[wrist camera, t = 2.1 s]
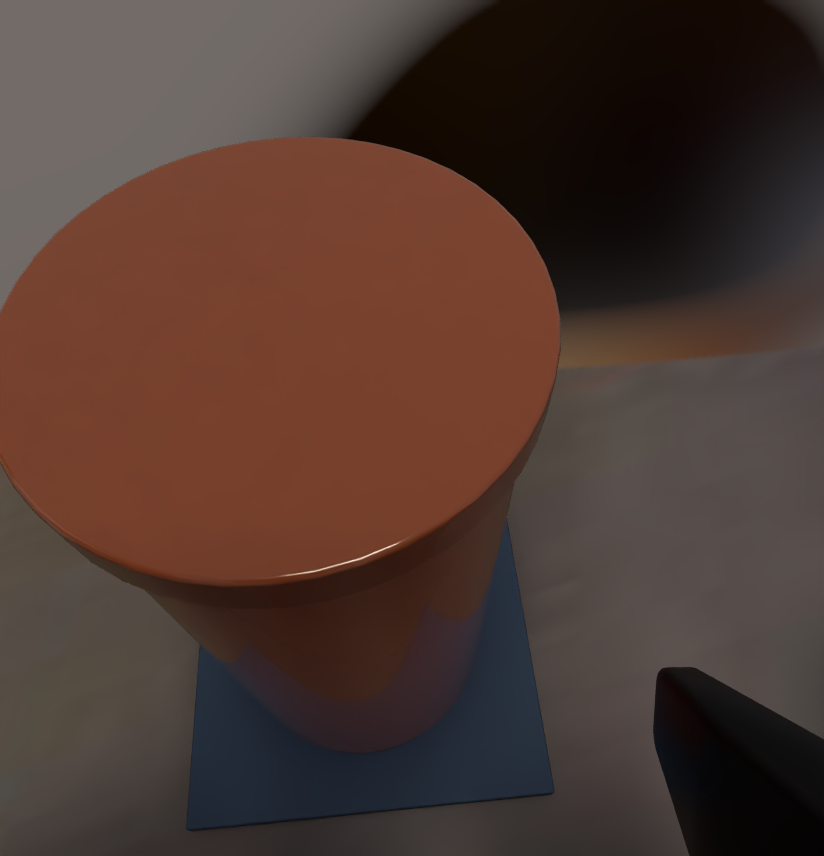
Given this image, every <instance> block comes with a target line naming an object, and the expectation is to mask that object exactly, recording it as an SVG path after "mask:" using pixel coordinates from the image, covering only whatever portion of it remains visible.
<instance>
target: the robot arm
mask: <svg viewBox="0 0 824 856" xmlns="http://www.w3.org/2000/svg"><path fill="white" fill-rule="evenodd" d="M653 734H654V743H655V747H656V751H657V755H658V758H659V761H660V764H661V767H662V770H663V773H664V777H665V780H666V783H667V786H668V789H669V792H670V796H671V799H672V802H673V805H674V808H675V811H676V815H677V818H678V821H679V824H680V827H681V830H682V834H683V837H684V840H685V843H686V846H687V849H688V852H689V856H824V739H822V738H820V737H818V736H817V735H815V734H813V733H811V732H809V731H808V730H806V729H804V728H802V727H801V726H799V725H797V724H795V723H793V722H792V721H790V720H788V719H786V718H784V717H783V716H781V715H779V714H777V713H775V712H774V711H772V710H770V709H768V708H766V707H765V706H763V705H761V704H759V703H757V702H756V701H754V700H752V699H750V698H749V697H747V696H745V695H743V694H741V693H740V692H738V691H736V690H734V689H732V688H731V687H729V686H727V685H725V684H723V683H722V682H720V681H718V680H716V679H714V678H713V677H711V676H709V675H707V674H705V673H704V672H702V671H700V670H698V669H696V668H693V667H667V668H662V669H661V670H660V671H659V673H658V676H657V680H656V694H655V709H654V725H653Z"/></svg>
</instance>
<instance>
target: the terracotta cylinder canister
mask: <svg viewBox="0 0 824 856" xmlns="http://www.w3.org/2000/svg"><path fill="white" fill-rule="evenodd" d="M559 356H560V316H559V310H558V305H557V299H556V294H555V291H554V288H553V285H552V282H551V279H550V277H549V274H548V271H547V268H546V265H545V264H544V262H543V260H542V258H541V256H540V254H539V253H538V251H537V249H536V247H535V245H534V244H533V242H532V240H531V239H530V237H529V236H528V235H527V233H526V232H525V231H524V230H523V229H522V227H521V226H520V224H519V223H518V222H517V221H516V219H515V218H514V217H513V216H512V215H511V214H510V213H509V212H508V211H507V210H506V209H504V207H503V206H501V204H500V203H499V202H497V200H495V199H494V198H493V197H491V196H490V195H489V194H487V193H486V192H485V191H483V190H482V189H481V188H479V187H478V186H477V185H476V184H474V183H472V182H471V181H469V180H467V179H466V178H464V177H462V176H461V175H459V174H457V173H455V172H454V171H452V170H450V169H448V168H446V167H443V166H441V165H439V164H437V163H435V162H432V161H430V160H428V159H426V158H423V157H420V156H417V155H414V154H411V153H408V152H405V151H402V150H399V149H395V148H391V147H386V146H382V145H378V144H374V143H368V142H361V141H355V140H347V139H339V138H319V137H295V138H294V137H293V138H274V139H266V140H257V141H248V142H243V143H238V144H233V145H228V146H223V147H218V148H215V149H211V150H208V151H204V152H200V153H197V154H193V155H189V156H187V157H184V158H181V159H179V160H176V161H173V162H171V163H168V164H165V165H163V166H160V167H158V168H155V169H153V170H151V171H149V172H147V173H145V174H143V175H140V176H138V177H136V178H134V179H132V180H130V181H128V182H127V183H125V184H123V185H122V186H120V187H118V188H116V189H115V190H113V191H111V192H109V193H108V194H106V195H104V196H103V197H101V198H100V199H99V200H97V201H96V202H95V203H93V204H91V205H90V206H89V207H87V208H86V209H85V210H83V211H82V212H80V213H79V214H78V215H77V216H75V217H74V218H73V219H72V220H71V221H70V222H69V223H67V224H66V225H65V226H64V227H63V228H62V229H60V230H59V231H58V232H57V233H56V234H55V235H54V236H53V237H52V238H51V239H50V240H49V241H48V242H47V243H46V244H45V246H44V247H43V248H42V249H41V250H40V251H39V252H38V253H37V254H36V255H35V257H34V258H33V259H32V260H31V262H30V263H29V265H28V266H27V267H26V269H25V270H24V271H23V273H22V274H21V275H20V277H19V278H18V279H17V281H16V282H15V284H14V286H13V288H12V290H11V292H10V293H9V295H8V297H7V299H6V300H5V302H4V304H3V306H2V308H1V310H0V464H1V465H2V467H3V469H4V471H5V473H6V474H7V476H8V478H9V480H10V482H11V483H12V485H13V487H14V488H15V489H16V491H17V492H18V493H19V494H20V495H21V497H22V498H23V499H24V500H25V501H26V503H27V504H28V505H29V506H30V507H31V509H32V510H33V511H34V512H35V513H36V514H37V515H38V516H39V517H40V518H41V519H42V520H43V521H44V522H45V523H47V524H48V525H49V526H50V527H51V528H52V529H53V530H54V531H55V532H57V533H58V534H59V535H60V536H61V537H62V538H63V539H64V540H66V541H67V542H68V543H69V544H70V545H71V546H73V547H74V548H75V549H76V550H77V551H79V552H80V553H81V554H82V555H83V556H84V557H86V558H87V559H88V560H89V561H90V562H92V563H94V564H95V565H97V566H99V567H100V568H102V569H104V570H105V571H107V572H109V573H110V574H112V575H114V576H115V577H117V578H119V579H120V580H122V581H124V582H127V583H129V584H132V585H134V586H137V587H139V588H142V589H144V590H145V591H146V592H147V593H148V594H149V595H150V596H151V597H152V598H153V599H154V600H155V601H156V602H157V603H158V604H159V605H160V606H161V607H162V608H163V609H164V610H165V611H166V612H167V613H168V614H169V615H171V616H172V617H173V618H174V619H175V620H176V621H177V622H178V623H179V624H180V625H181V626H182V627H183V628H184V629H185V630H186V631H187V632H188V633H189V634H190V635H191V636H192V637H193V638H194V639H195V640H196V641H197V642H198V643H199V644H200V645H201V646H202V647H203V648H204V649H205V650H206V651H207V652H208V653H209V654H210V655H211V656H212V657H213V658H214V659H215V660H217V661H218V662H219V663H220V664H221V665H222V666H223V667H224V668H225V669H226V670H227V671H228V672H229V673H230V674H231V675H232V676H233V677H234V678H235V679H236V680H237V681H238V682H239V683H240V684H241V685H242V686H243V687H244V688H245V689H246V690H247V691H248V692H249V693H250V694H251V695H252V696H253V697H254V698H255V699H256V700H257V701H258V702H259V703H260V704H261V705H263V706H264V707H265V708H266V709H267V710H268V711H269V712H270V713H271V714H272V715H273V716H274V717H275V718H276V719H277V720H278V721H279V722H280V723H281V724H282V725H284V726H285V727H286V728H287V729H288V730H289V731H291V732H292V733H294V734H295V735H297V736H298V737H300V738H302V739H303V740H305V741H307V742H310V743H312V744H314V745H316V746H319V747H322V748H326V749H329V750H333V751H338V752H347V753H369V752H375V751H381V750H386V749H389V748H392V747H395V746H399V745H401V744H404V743H406V742H408V741H410V740H412V739H414V738H416V737H418V736H419V735H421V734H422V733H424V732H425V731H427V730H428V729H430V728H431V727H432V726H433V725H434V724H435V723H437V722H438V721H439V720H440V719H441V718H442V717H443V716H444V715H445V714H446V713H447V712H448V711H449V709H450V708H451V707H452V706H453V705H454V703H455V702H456V700H457V699H458V697H459V696H460V694H461V693H462V691H463V689H464V687H465V685H466V683H467V681H468V679H469V677H470V674H471V671H472V668H473V665H474V662H475V658H476V653H477V649H478V644H479V640H480V635H481V631H482V626H483V622H484V617H485V613H486V608H487V604H488V599H489V595H490V590H491V585H492V581H493V576H494V572H495V567H496V563H497V558H498V554H499V549H500V545H501V540H502V536H503V531H504V527H505V522H506V518H507V513H508V509H509V504H510V500H511V495H512V491H513V486H514V482H515V480H516V479H517V477H518V476H519V475H520V473H521V472H522V470H523V468H524V466H525V464H526V462H527V460H528V459H529V457H530V455H531V453H532V451H533V449H534V447H535V445H536V443H537V441H538V438H539V435H540V432H541V429H542V426H543V423H544V420H545V417H546V415H547V411H548V407H549V404H550V400H551V396H552V392H553V388H554V384H555V380H556V374H557V368H558V362H559Z"/></svg>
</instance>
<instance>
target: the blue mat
mask: <svg viewBox="0 0 824 856" xmlns="http://www.w3.org/2000/svg"><path fill="white" fill-rule="evenodd" d="M552 793H554V786H553V780H552V774H551V769H550V763H549V757H548V751H547V746H546V740H545V734H544V729H543V723H542V717H541V711H540V706H539V700H538V694H537V689H536V683H535V677H534V671H533V666H532V660H531V654H530V649H529V643H528V637H527V631H526V626H525V620H524V614H523V609H522V603H521V597H520V592H519V586H518V580H517V574H516V569H515V563H514V557H513V552H512V546H511V540H510V534H509V529H508V523H507V518H506V522H505V527H504V531H503V536H502V540H501V545H500V549H499V554H498V558H497V563H496V567H495V572H494V576H493V581H492V585H491V590H490V595H489V599H488V604H487V608H486V613H485V617H484V622H483V626H482V631H481V635H480V640H479V644H478V649H477V653H476V658H475V662H474V665H473V668H472V671H471V674H470V677H469V679H468V681H467V683H466V685H465V687H464V689H463V691H462V693H461V694H460V696H459V697H458V699H457V700H456V702H455V703H454V705H453V706H452V707H451V708H450V709H449V711H448V712H447V713H446V714H445V715H444V716H443V717H442V718H441V719H440V720H439V721H438V722H437V723H435V724H434V725H433V726H432V727H431V728H430V729H428V730H427V731H425V732H424V733H422V734H421V735H419V736H418V737H416V738H414V739H412V740H410V741H408V742H406V743H404V744H401V745H399V746H395V747H392V748H389V749H386V750H381V751H375V752H369V753H347V752H338V751H333V750H329V749H326V748H322V747H319V746H316V745H314V744H312V743H310V742H307V741H305V740H303V739H302V738H300V737H298V736H297V735H295V734H294V733H292V732H291V731H289V730H288V729H287V728H286V727H285V726H284V725H282V724H281V723H280V722H279V721H278V720H277V719H276V718H275V717H274V716H273V715H272V714H271V713H270V712H269V711H268V710H267V709H266V708H265V707H264V706H263V705H261V704H260V703H259V702H258V701H257V700H256V699H255V698H254V697H253V696H252V695H251V694H250V693H249V692H248V691H247V690H246V689H245V688H244V687H243V686H242V685H241V684H240V683H239V682H238V681H237V680H236V679H235V678H234V677H233V676H232V675H231V674H230V673H229V672H228V671H227V670H226V669H225V668H224V667H223V666H222V665H221V664H220V663H219V662H218V661H217V660H215V659H214V658H213V657H212V656H211V655H210V654H209V653H208V652H207V651H206V650H205V649H204V648H203V647H202V646H201V645H200V649H199V662H198V676H197V690H196V703H195V717H194V730H193V744H192V757H191V771H190V785H189V798H188V812H187V825H186V829H187V830H190V831H194V830H204V829H214V828H224V827H234V826H244V825H254V824H263V823H273V822H283V821H293V820H303V819H313V818H323V817H333V816H342V815H352V814H362V813H372V812H382V811H392V810H402V809H412V808H421V807H431V806H441V805H451V804H461V803H471V802H481V801H491V800H501V799H510V798H520V797H530V796H540V795H550V794H552Z"/></svg>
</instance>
